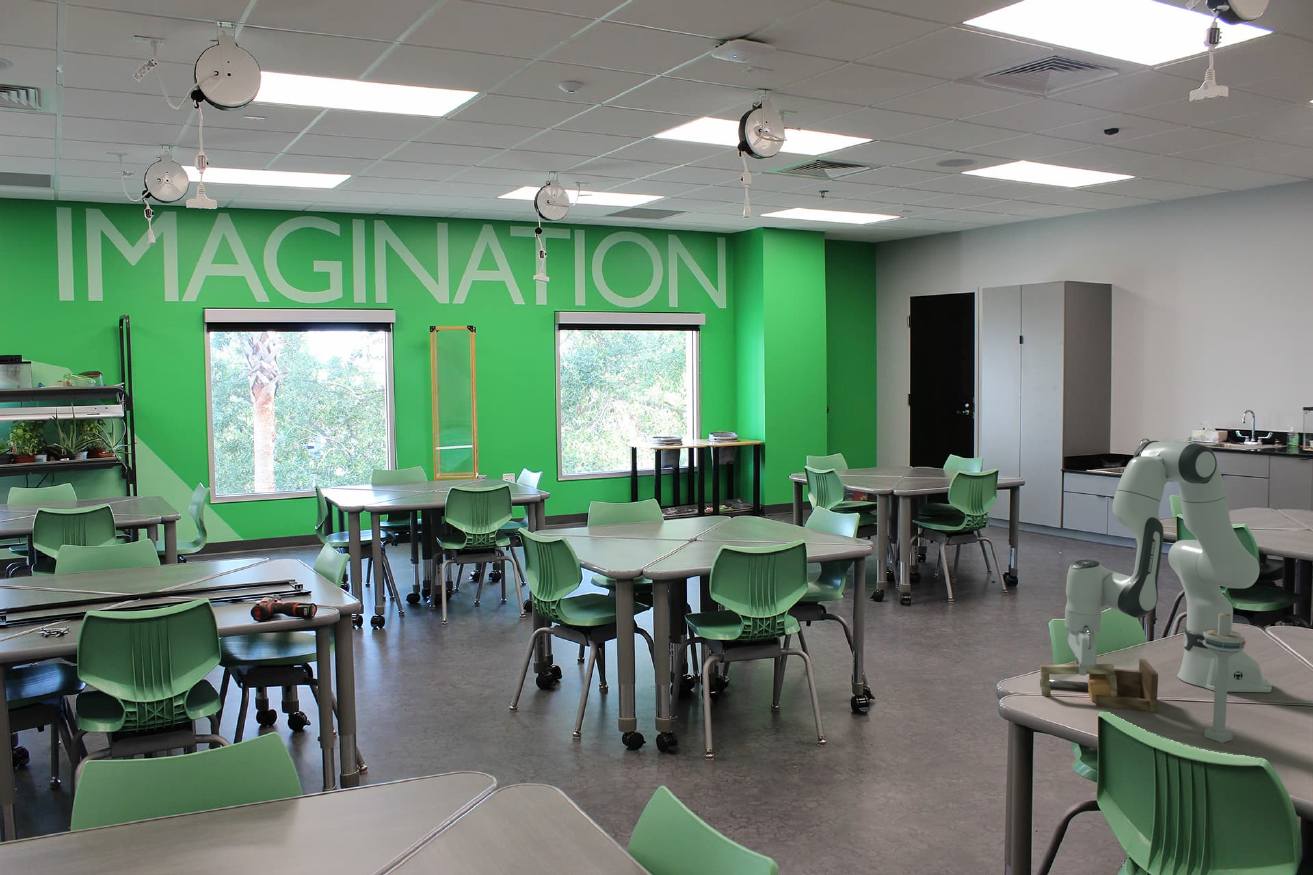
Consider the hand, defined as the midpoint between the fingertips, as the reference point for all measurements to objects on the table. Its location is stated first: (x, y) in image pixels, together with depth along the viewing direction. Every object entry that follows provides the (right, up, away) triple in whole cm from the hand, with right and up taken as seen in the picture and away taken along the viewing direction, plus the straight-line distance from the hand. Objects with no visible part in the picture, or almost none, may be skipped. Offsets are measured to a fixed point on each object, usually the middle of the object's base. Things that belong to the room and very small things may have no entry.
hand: (1080, 672), depth 252 cm
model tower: (+21, -9, -26) cm, 35 cm away
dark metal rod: (-1, -7, +8) cm, 11 cm away
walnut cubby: (+10, -7, -2) cm, 12 cm away
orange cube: (+5, -7, -1) cm, 8 cm away
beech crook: (0, -6, +1) cm, 6 cm away
